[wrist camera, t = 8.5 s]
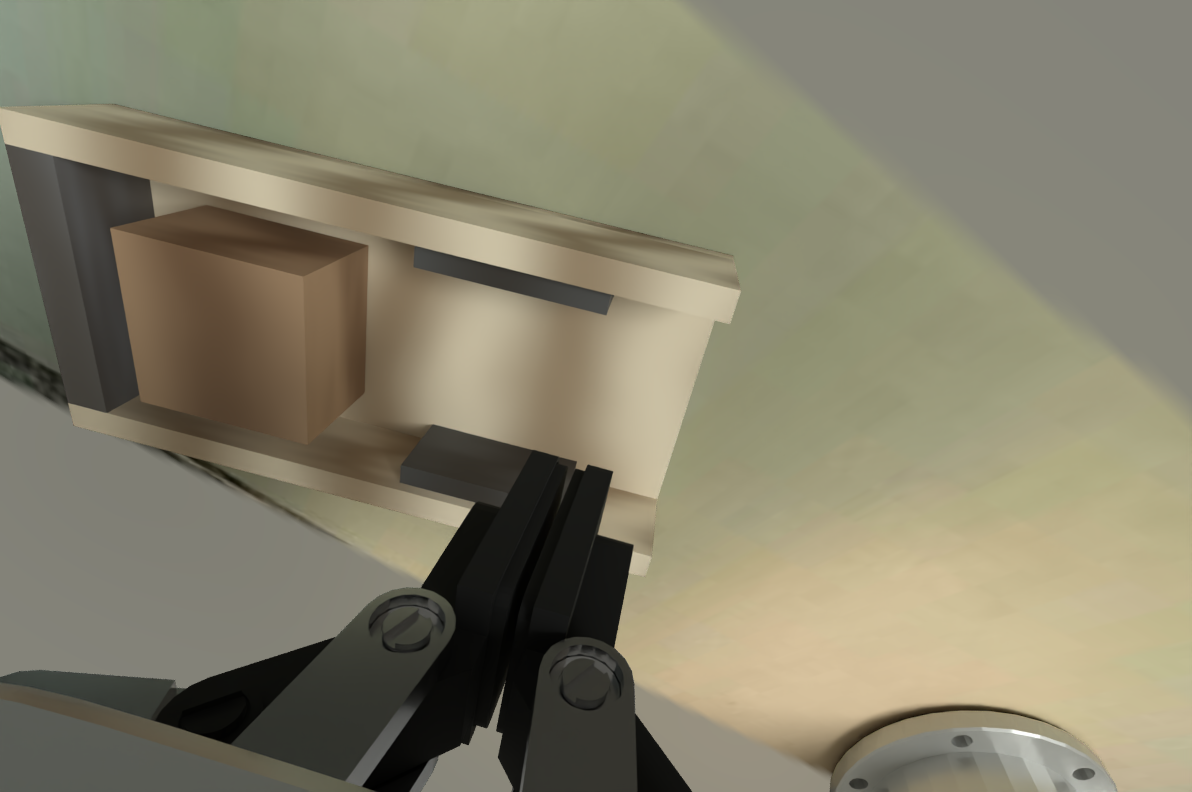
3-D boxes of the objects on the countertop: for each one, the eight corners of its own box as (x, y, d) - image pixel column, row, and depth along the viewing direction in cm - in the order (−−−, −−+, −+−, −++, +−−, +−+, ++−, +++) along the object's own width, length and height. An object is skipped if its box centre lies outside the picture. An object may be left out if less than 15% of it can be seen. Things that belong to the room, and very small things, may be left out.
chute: (732, 255, 20) (740, 290, 17) (652, 509, 25) (644, 576, 22) (114, 103, 21) (-4, 107, 17) (157, 380, 26) (73, 425, 23)
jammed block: (368, 245, 21) (303, 276, 18) (364, 392, 24) (307, 445, 20) (206, 205, 21) (109, 227, 18) (221, 356, 24) (140, 401, 21)
